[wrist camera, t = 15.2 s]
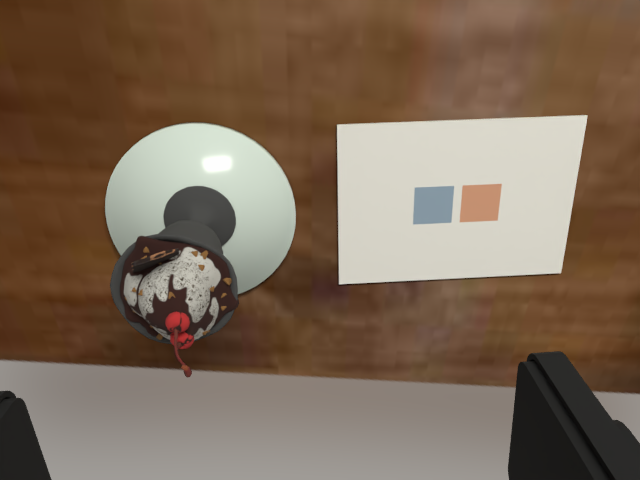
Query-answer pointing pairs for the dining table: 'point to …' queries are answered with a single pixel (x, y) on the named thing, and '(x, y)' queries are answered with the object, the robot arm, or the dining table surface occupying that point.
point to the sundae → (180, 272)
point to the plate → (214, 172)
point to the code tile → (455, 197)
